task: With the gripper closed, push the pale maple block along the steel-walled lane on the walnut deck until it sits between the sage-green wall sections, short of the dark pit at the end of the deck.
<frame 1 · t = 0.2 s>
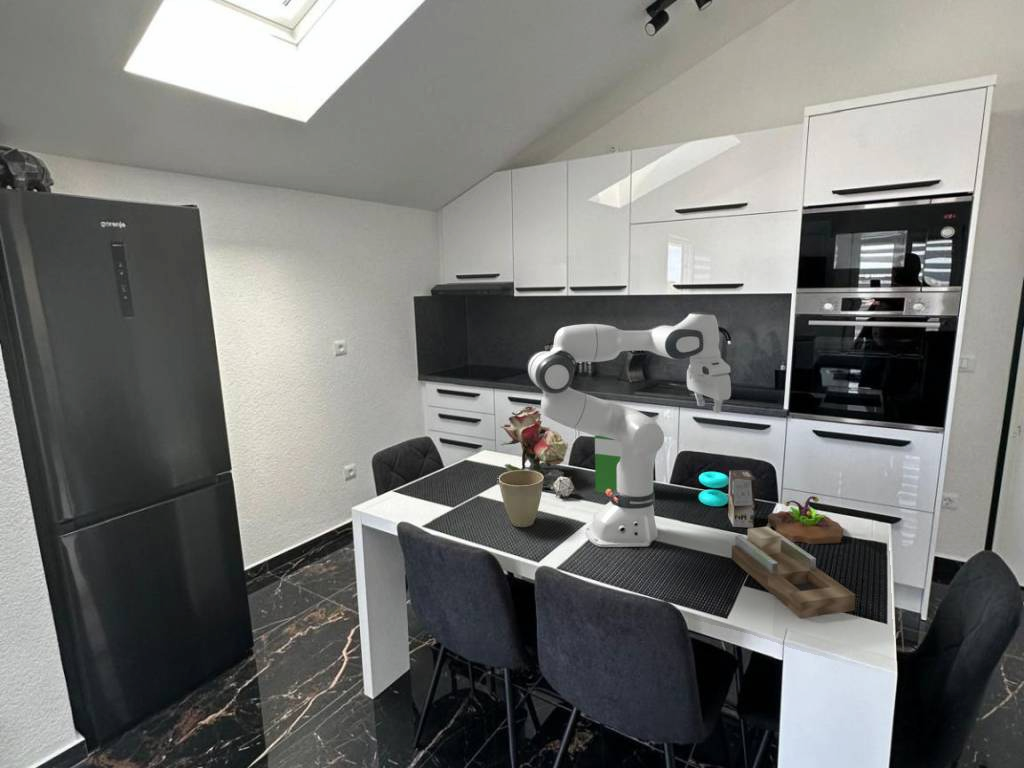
hand: (708, 408, 166), 38 cm above the table, tool pointing down, fingers open, 8 cm apart
plant pot: (522, 523, 180), on the table
coffee box: (740, 522, 175), on the table
donuts: (713, 502, 191), on the table
game die: (563, 497, 201), on the table
lane walls: (773, 551, 143), on the walnut deck, point 6 cm above the table
plant: (805, 531, 168), on the table
rose bouquet: (535, 478, 223), on the table
maple block: (763, 549, 148), point 4 cm above the table, touching walnut deck
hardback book: (621, 492, 205), on the table
walnut deck: (787, 582, 138), on the table
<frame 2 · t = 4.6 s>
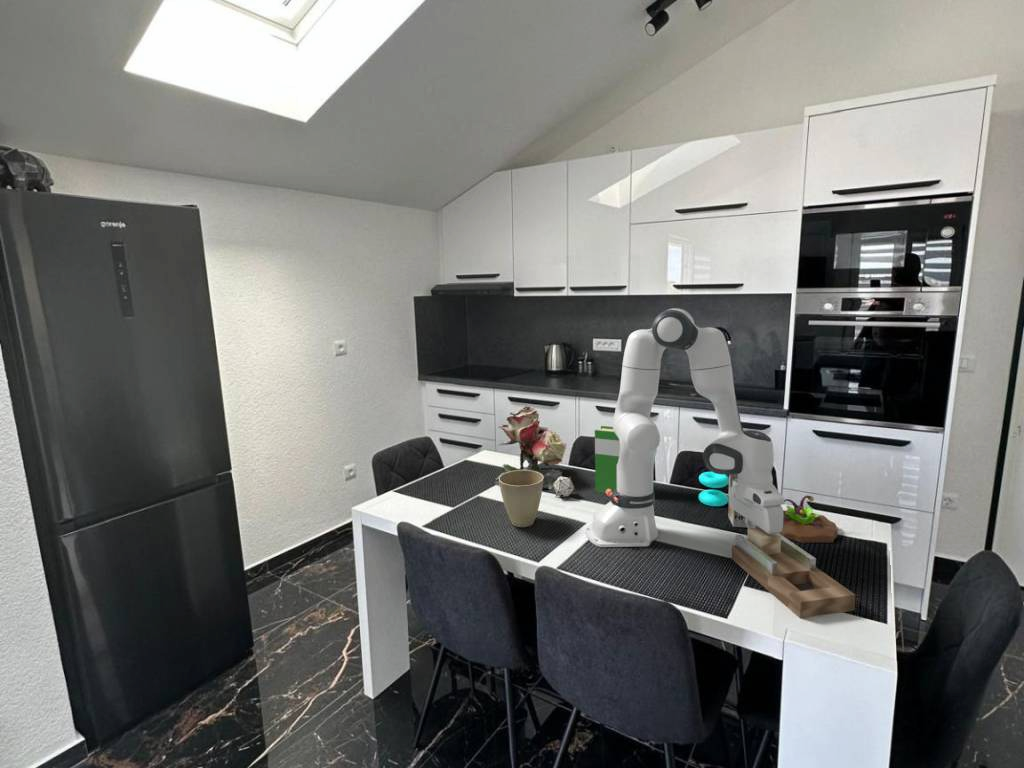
hand: (753, 535, 153), 6 cm above the table, tool pointing down, fingers closed
plant: (800, 530, 168), on the table
maple block: (763, 549, 148), point 4 cm above the table, touching gripper, walnut deck
everything else where it was.
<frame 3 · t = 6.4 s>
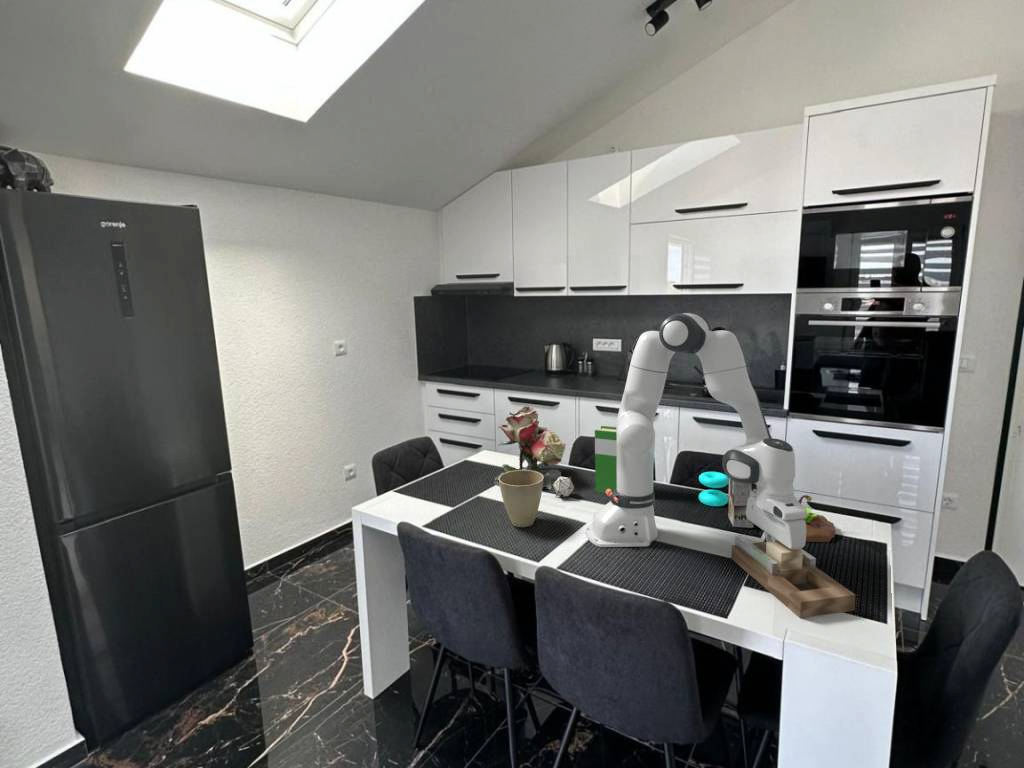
hand: (772, 549, 144), 6 cm above the table, tool pointing down, fingers closed
maple block: (783, 564, 140), point 4 cm above the table, touching gripper, walnut deck
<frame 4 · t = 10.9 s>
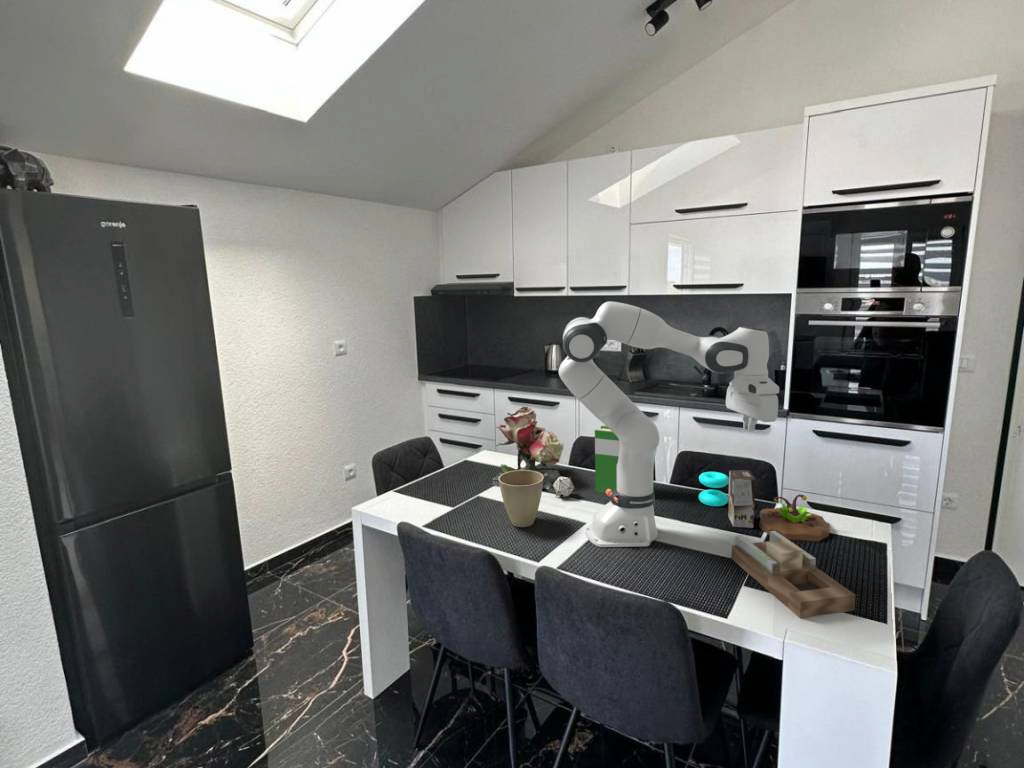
hand: (748, 430, 156), 34 cm above the table, tool pointing down, fingers closed
plant: (793, 528, 170), on the table
maple block: (783, 564, 140), point 4 cm above the table, touching walnut deck
at the end: maple block 0.9 cm from the target spot, point 4.0 cm above the table; maple block tilted 0°; maple block moved 8.4 cm from its start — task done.
